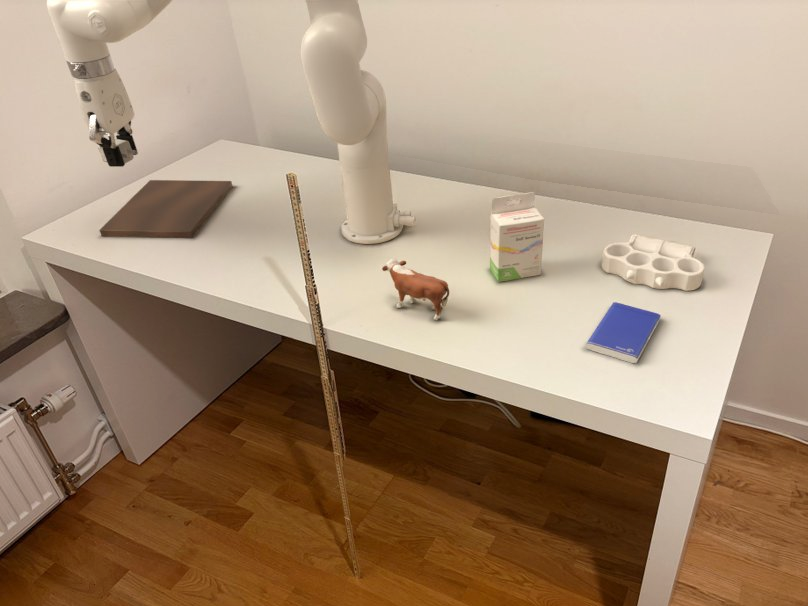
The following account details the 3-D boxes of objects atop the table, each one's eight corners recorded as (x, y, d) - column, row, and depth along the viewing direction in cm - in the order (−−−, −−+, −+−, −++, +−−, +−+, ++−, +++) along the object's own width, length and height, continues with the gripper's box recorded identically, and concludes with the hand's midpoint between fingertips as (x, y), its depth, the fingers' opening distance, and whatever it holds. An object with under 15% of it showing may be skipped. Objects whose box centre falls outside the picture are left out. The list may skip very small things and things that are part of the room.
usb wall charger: (118, 155, 142) (112, 136, 140) (144, 160, 140) (137, 141, 137) (103, 163, 139) (96, 144, 137) (129, 168, 137) (122, 148, 134)
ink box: (497, 283, 126) (498, 210, 117) (489, 269, 130) (489, 197, 120) (542, 275, 127) (546, 202, 118) (532, 261, 131) (536, 189, 122)
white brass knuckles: (710, 261, 129) (693, 302, 119) (616, 241, 136) (592, 278, 126) (714, 245, 127) (697, 286, 117) (618, 226, 134) (594, 262, 124)
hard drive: (637, 356, 106) (661, 313, 114) (586, 341, 109) (613, 301, 117) (636, 364, 107) (659, 321, 115) (585, 349, 110) (612, 308, 118)
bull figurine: (394, 290, 125) (390, 251, 120) (455, 313, 119) (453, 273, 114) (378, 302, 122) (373, 262, 117) (440, 326, 116) (438, 285, 111)
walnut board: (232, 186, 162) (231, 180, 161) (192, 238, 143) (190, 231, 142) (151, 185, 164) (150, 179, 163) (101, 236, 145) (99, 230, 144)
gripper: (87, 82, 121) (121, 178, 132) (132, 53, 135) (159, 143, 146) (47, 82, 122) (84, 178, 133) (95, 54, 135) (126, 143, 147)
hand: (123, 159), depth 139 cm, fingers closed on usb wall charger, 4 cm apart
